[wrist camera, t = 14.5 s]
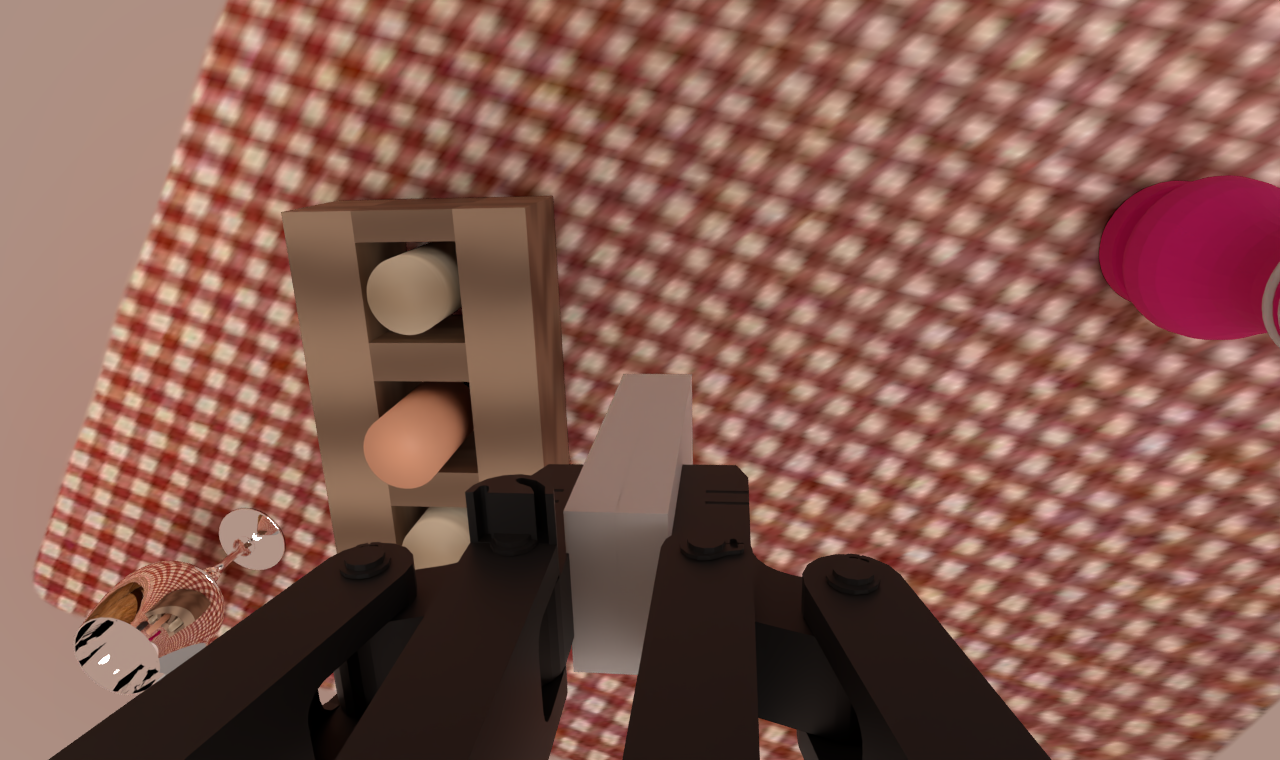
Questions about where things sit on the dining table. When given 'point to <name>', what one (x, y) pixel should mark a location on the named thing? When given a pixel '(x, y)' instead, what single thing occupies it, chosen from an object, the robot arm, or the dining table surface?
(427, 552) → the far beech plug
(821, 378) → the dining table surface
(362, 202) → the walnut socket block
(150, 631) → the wineglass
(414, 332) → the near beech plug
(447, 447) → the rust plug
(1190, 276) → the pepper mill
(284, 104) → the dining table surface
